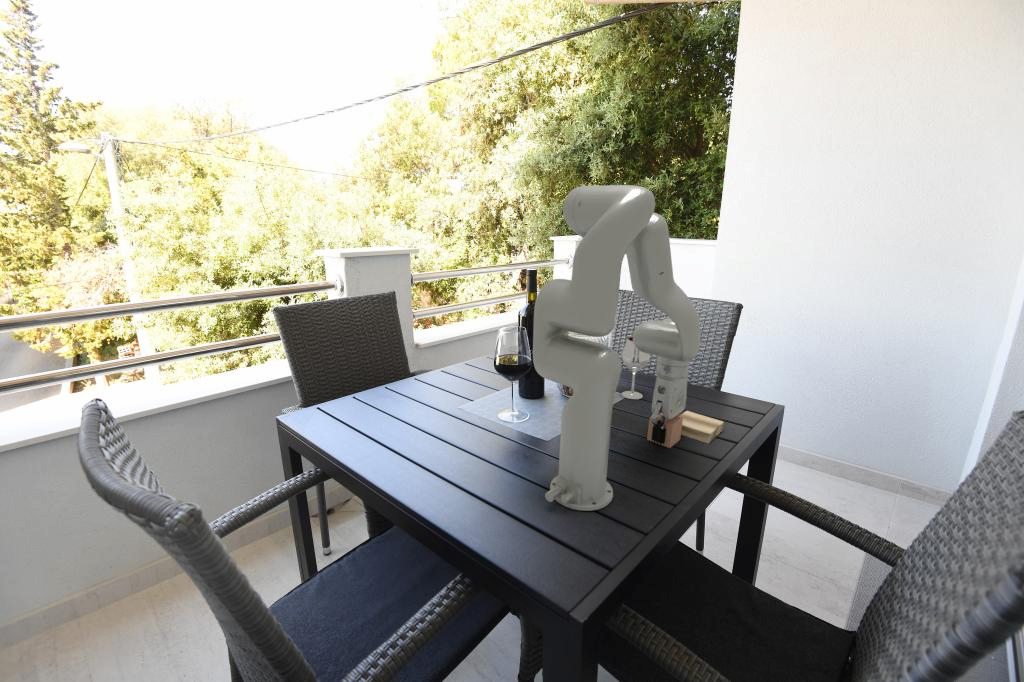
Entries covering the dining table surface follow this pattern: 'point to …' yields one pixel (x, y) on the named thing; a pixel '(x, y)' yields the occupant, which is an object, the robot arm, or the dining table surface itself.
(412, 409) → the dining table surface
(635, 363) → the wineglass
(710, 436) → the oak block
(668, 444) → the painted cube
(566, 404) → the robot arm
